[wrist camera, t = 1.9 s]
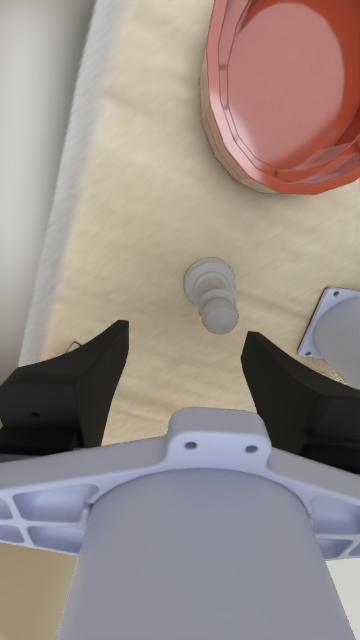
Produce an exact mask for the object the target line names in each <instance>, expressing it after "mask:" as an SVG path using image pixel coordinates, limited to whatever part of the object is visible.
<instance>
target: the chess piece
mask: <svg viewBox="0 0 360 640" xmlns="http://www.w3.org/2000/svg"><path fill="white" fill-rule="evenodd" d="M184 289H185V292H186V294H187V296H188V298H189V299H190V301H191V302H192V303H193V304H195V305H196V306H198V312H199V314H200V316H201V318H202V323H203V325H204V326H205V328H206V329H207V330H208V331H210V332H212V333H215V334H225V333H228V332H230V331H231V330H232V329H233V328H234V327H235V326H236V324H237V321H238V311H237V308H236V302H235V299H234V297H233V296H232V295H233V293H234V290H235V278H234V273H233V271H232V269H231V268H230V266H229V265H228V264H227V263H225V262H224V261H222V260H219V259H216V258H206V259H202V260H200V261H197V262H196V263H194V264H193V265H192V266H191V267H190V268H189V270H188V271H187V273H186V275H185V279H184Z"/></svg>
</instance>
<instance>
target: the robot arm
mask: <svg viewBox="0 0 360 640" xmlns="http://www.w3.org/2000/svg"><path fill="white" fill-rule="evenodd" d="M335 292H337V293H336V294H335V295H333V294H334V293H335ZM128 350H129V321H125V320H118V321H116V322H115V323H114V324H112V325H111V326H110V327H109V328H107V329H106V330H105V331H103V332H102V333H101V334H99V335H98V336H96V337H95V338H93V339H92V340H90V341H89V342H87V343H86V344H84V345H82V346H80V347H78V348H76V349H74V350H72V351H70V352H67V353H65V354H63V355H60V356H58V357H55V358H52V359H49V360H46V361H43V362H39V363H35V364H31V365H27V366H23V367H18V368H17V369H16V370H15V371H14V372H13V373H12V374H11V375H10V376H9V377H8V378H7V379H6V380H5V381H4V383H3V384H2V385H1V386H0V419H1V422H2V424H3V426H2V428H1V429H0V542H3V543H8V544H14V545H20V546H26V547H31V548H37V549H43V550H49V551H54V552H60V553H66V554H71V555H77V556H78V559H77V563H76V567H75V570H74V574H73V577H72V581H71V585H70V589H69V592H68V596H67V599H66V603H65V606H64V610H63V614H62V618H61V621H60V625H59V628H58V632H57V636H56V639H55V640H356V639H355V637H354V634H353V631H352V629H351V626H350V624H349V621H348V619H347V616H346V614H345V611H344V608H343V606H342V603H341V601H340V598H339V596H338V593H337V590H336V588H335V585H334V583H333V580H332V578H331V575H330V572H329V570H328V567H327V565H326V562H325V561H328V560H338V559H348V558H359V557H360V290H351V289H343V288H335V287H329V288H327V289H326V290H325V291H324V293H323V295H322V297H321V300H320V302H319V304H318V307H317V309H316V311H315V313H314V316H313V318H312V320H311V322H310V325H309V327H308V329H307V331H306V334H305V336H304V338H303V340H302V343H301V345H300V347H299V350H298V354H299V356H301V357H309V358H319V359H326V360H327V361H328V362H329V363H330V365H331V366H332V367H333V368H334V369H335V370H336V372H337V373H338V374H339V375H340V376H341V377H342V379H343V380H344V381H345V382H346V383H347V384H348V386H347V385H344V384H342V383H340V382H337V381H335V380H332V379H330V378H328V377H326V376H324V375H322V374H320V373H318V372H316V371H314V370H312V369H310V368H308V367H307V366H305V365H303V364H302V363H300V362H298V361H297V360H295V359H294V358H292V357H291V356H290V355H288V354H287V353H285V352H284V351H283V350H281V349H280V348H279V347H277V346H276V345H275V344H273V343H272V342H271V341H270V340H268V339H267V338H266V337H265V336H263V335H262V334H260V333H259V332H253V331H248V333H247V337H246V341H245V344H244V348H243V351H242V355H241V363H242V368H243V373H244V376H245V378H246V381H247V384H248V387H249V390H250V392H251V395H252V398H253V401H254V403H255V407H256V410H257V413H253V412H249V411H246V410H234V409H219V408H205V407H188V408H182V409H180V410H179V411H177V412H175V413H173V415H172V416H171V418H170V420H169V425H168V431H167V434H166V435H165V436H159V437H153V438H147V439H141V440H135V441H129V442H123V443H117V444H111V445H105V446H101V443H102V439H103V434H104V430H105V426H106V422H107V418H108V414H109V410H110V406H111V402H112V398H113V395H114V392H115V390H116V387H117V384H118V382H119V379H120V377H121V374H122V371H123V369H124V366H125V363H126V359H127V355H128ZM307 352H308V353H307ZM306 353H307V354H306Z"/></svg>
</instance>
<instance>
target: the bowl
mask: <svg viewBox="0 0 360 640" xmlns="http://www.w3.org/2000/svg"><path fill="white" fill-rule="evenodd" d="M199 80H200V82H199V86H200V99H201V113H202V123H203V127H204V129H205V132H206V135H207V137H208V140H209V142H210V145H211V148H212V150H213V153H214V155H215V157H216V159H217V160H218V161H219V162H220V163H221V164H222V166H223V167H224V168H225V169H226V170H227V171H228V173H229V174H230V175H231V176H232V177H233V178H234V180H236V181H238V182H240V183H242V184H244V185H246V186H248V187H250V188H252V189H254V190H256V191H258V192H263V193H280V194H304V195H315V194H316V195H317V194H320V193H322V192H325V191H328V190H331V189H334V188H337V187H340V186H343V185H346V184H349V183H352V182H354V181H355V180H357V179H358V178H359V177H360V0H214V5H213V10H212V15H211V21H210V26H209V31H208V36H207V42H206V47H205V53H204V58H203V63H202V69H201V74H200V79H199Z"/></svg>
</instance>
